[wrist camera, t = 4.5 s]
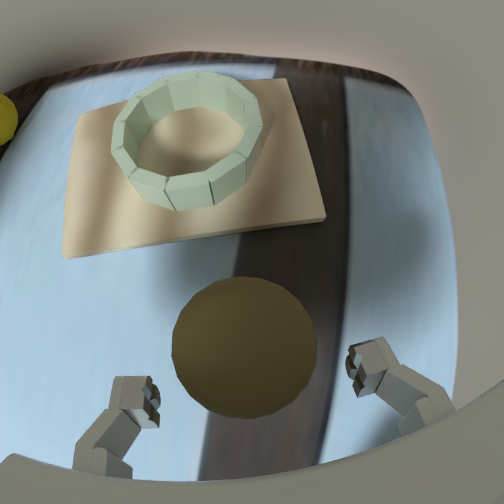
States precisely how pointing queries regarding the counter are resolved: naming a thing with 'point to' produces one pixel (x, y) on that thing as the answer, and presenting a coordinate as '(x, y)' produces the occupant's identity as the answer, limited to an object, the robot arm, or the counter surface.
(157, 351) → the counter surface
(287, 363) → the olive rounded peg
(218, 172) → the sage ring
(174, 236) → the birch board
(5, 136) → the lemon
